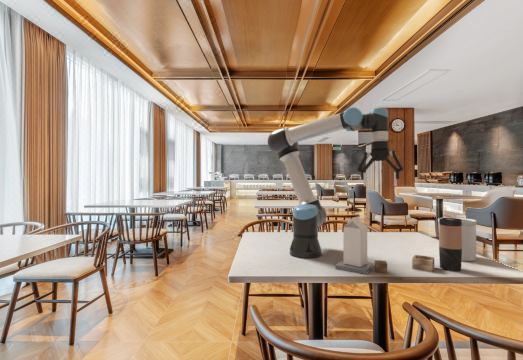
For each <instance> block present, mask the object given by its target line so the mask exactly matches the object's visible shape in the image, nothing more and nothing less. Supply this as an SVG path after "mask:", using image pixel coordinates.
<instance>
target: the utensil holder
mask: <svg viewBox="0 0 523 360" xmlns="http://www.w3.org/2000/svg"><path fill="white" fill-rule="evenodd" d="M439 218H440V219H442V218H443V217H439ZM439 218H437V222H438V223H439ZM456 218H457V219H461V220H462V261H461V262H474V261H476V259H477V223H478V221H477V220H476V219H473V218H465V217H464V218H463V217H456Z"/></svg>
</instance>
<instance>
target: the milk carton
mask: <svg viewBox="0 0 523 360" xmlns="http://www.w3.org/2000/svg"><path fill="white" fill-rule="evenodd" d="M346 223H347V224H345V225H344V226H343V259H344V264H348V265H352V266H357V267H362V266H363V265H365V264H367V262H368V226H367V225H366V224H365V223H364V222H363V221H362V220H361V219H360V216H354V217H351V219H349V220H348V221H347V222H346Z"/></svg>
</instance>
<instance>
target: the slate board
mask: <svg viewBox="0 0 523 360" xmlns="http://www.w3.org/2000/svg"><path fill="white" fill-rule="evenodd" d="M334 266H335V267H334V268H335V269H336V270H341V271H346V272H350V273H352V272H353V273H356V274H363V275H367V274H368V273H369V272H370V271H371V270H372V269H373V268H375V262H372V261H367V264H365V265H363V266H362V267H357V266H352V265H348V264H344V258H343V259H342V260H341V261H339V262H338V263H336V264H335V265H334Z"/></svg>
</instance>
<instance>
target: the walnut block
mask: <svg viewBox="0 0 523 360" xmlns="http://www.w3.org/2000/svg"><path fill="white" fill-rule="evenodd" d="M374 271H375V273H376V274H380V275H388V262H387V261H386V260H379V259H378V260H377V259H375V260H374Z"/></svg>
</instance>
